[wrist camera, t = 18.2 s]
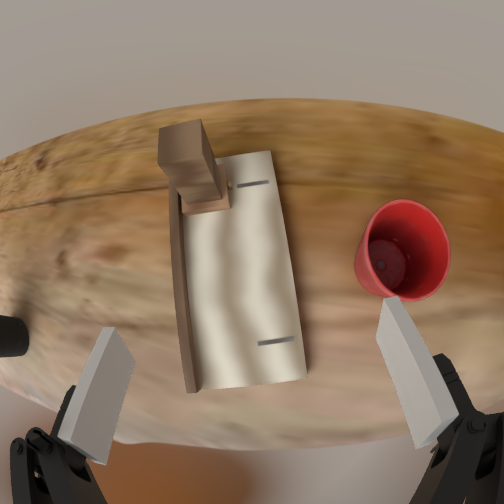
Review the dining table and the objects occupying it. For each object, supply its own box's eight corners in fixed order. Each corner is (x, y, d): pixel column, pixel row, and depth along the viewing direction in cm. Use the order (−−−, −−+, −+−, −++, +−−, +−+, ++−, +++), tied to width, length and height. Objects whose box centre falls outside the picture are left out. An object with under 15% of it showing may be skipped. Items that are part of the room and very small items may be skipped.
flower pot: (325, 269, 35) (343, 251, 26) (373, 212, 36) (400, 180, 27) (382, 323, 33) (417, 323, 23) (426, 262, 34) (464, 244, 25)
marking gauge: (230, 168, 37) (213, 110, 26) (235, 208, 36) (217, 157, 24) (183, 177, 38) (152, 124, 26) (185, 216, 36) (149, 172, 24)
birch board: (270, 157, 40) (269, 142, 36) (305, 374, 32) (309, 380, 28) (177, 173, 40) (168, 161, 36) (195, 386, 33) (186, 393, 29)
